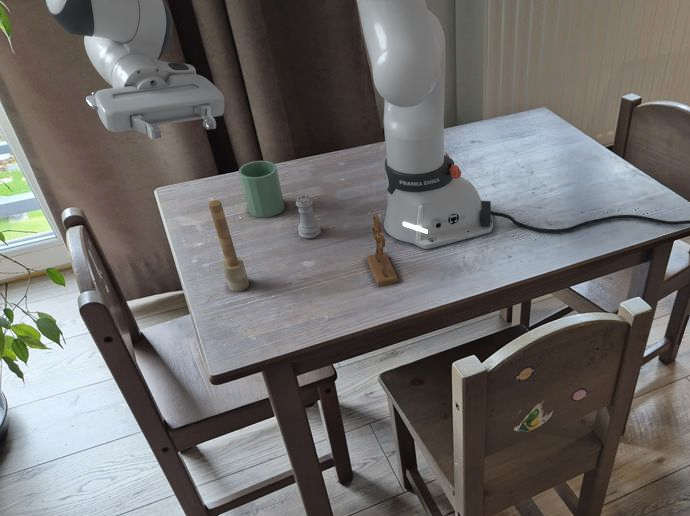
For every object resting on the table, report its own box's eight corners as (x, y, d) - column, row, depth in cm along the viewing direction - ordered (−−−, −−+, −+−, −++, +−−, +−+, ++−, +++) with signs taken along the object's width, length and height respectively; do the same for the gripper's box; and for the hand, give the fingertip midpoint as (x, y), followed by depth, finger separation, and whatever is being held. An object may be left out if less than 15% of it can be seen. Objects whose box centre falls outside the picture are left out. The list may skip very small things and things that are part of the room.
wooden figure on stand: (366, 259, 122) (359, 204, 113) (386, 255, 123) (381, 200, 114) (377, 286, 116) (371, 230, 107) (398, 282, 117) (393, 226, 108)
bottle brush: (249, 278, 117) (226, 196, 105) (249, 289, 115) (226, 207, 103) (228, 281, 116) (203, 199, 105) (228, 292, 114) (202, 210, 102)
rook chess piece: (299, 240, 126) (292, 205, 121) (298, 228, 129) (291, 193, 124) (321, 238, 127) (315, 202, 121) (320, 226, 130) (314, 191, 124)
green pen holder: (283, 197, 138) (275, 158, 132) (285, 214, 133) (277, 175, 127) (248, 201, 137) (238, 162, 130) (249, 219, 131) (239, 180, 125)
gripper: (77, 76, 101) (117, 123, 96) (200, 63, 114) (241, 104, 109) (84, 112, 106) (122, 158, 101) (201, 96, 118) (240, 136, 113)
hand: (185, 130), depth 105 cm, fingers open, 8 cm apart
